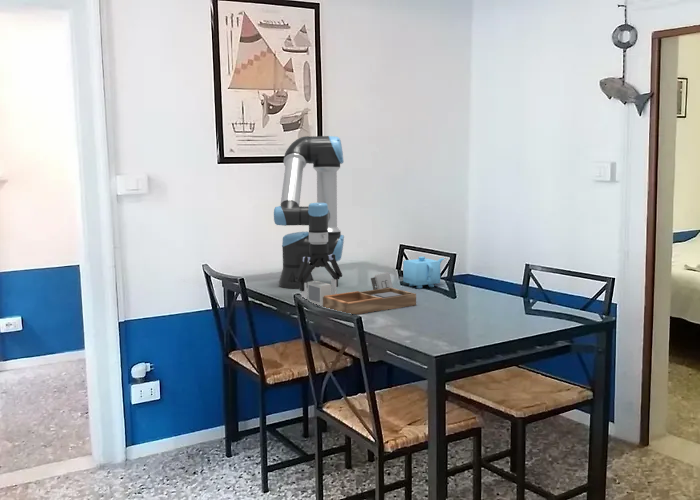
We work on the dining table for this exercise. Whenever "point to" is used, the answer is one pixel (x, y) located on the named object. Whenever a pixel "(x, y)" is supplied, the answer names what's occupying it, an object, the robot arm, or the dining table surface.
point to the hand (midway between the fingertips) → (319, 297)
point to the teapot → (421, 272)
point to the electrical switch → (381, 281)
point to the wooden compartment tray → (368, 301)
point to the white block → (318, 291)
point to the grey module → (386, 295)
